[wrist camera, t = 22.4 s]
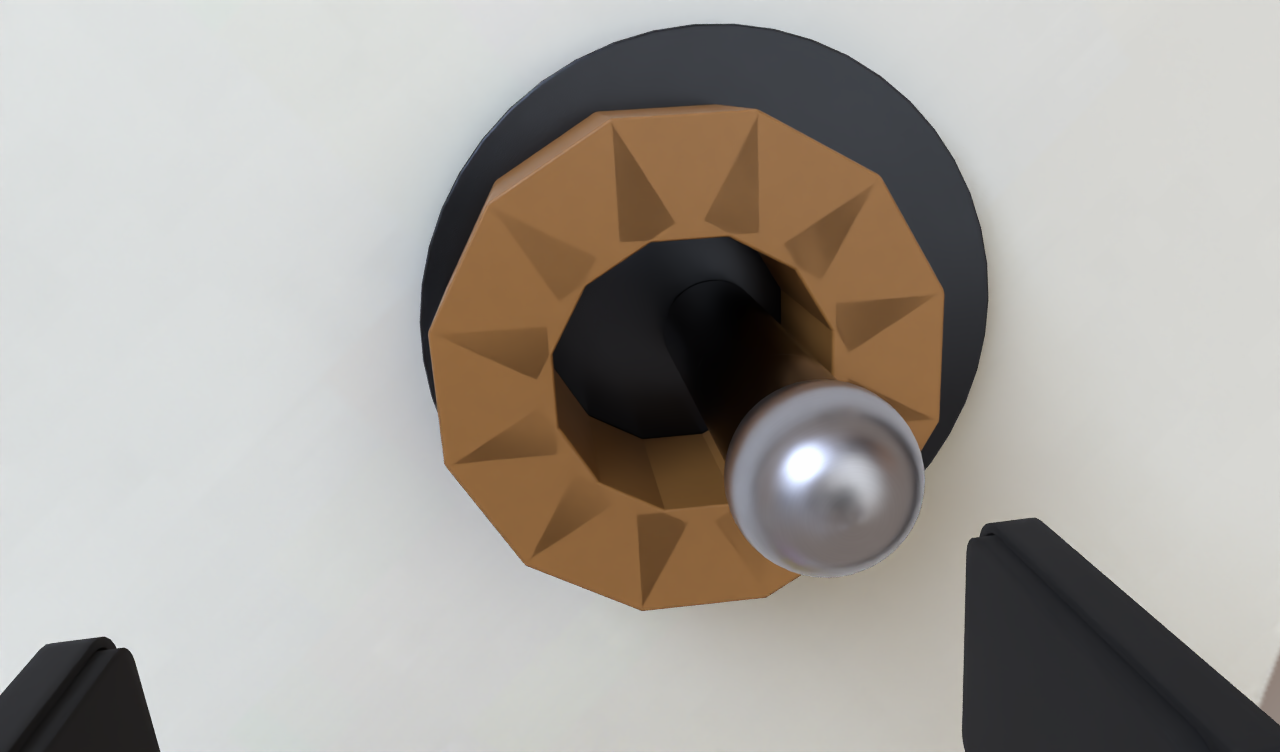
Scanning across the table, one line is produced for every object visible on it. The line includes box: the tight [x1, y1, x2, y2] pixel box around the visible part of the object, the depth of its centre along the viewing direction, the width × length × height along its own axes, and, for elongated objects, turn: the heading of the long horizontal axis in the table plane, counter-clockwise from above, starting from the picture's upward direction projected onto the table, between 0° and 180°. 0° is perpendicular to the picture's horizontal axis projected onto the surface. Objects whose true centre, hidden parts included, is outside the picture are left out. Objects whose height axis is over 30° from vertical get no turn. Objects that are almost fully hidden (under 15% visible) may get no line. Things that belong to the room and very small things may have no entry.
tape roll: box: [428, 104, 944, 611], centre depth 23 cm, size 11×11×4 cm
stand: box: [420, 24, 988, 578], centre depth 20 cm, size 15×15×13 cm
